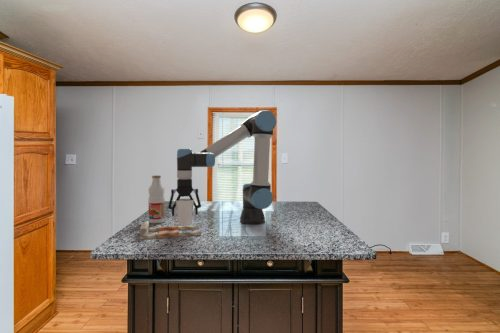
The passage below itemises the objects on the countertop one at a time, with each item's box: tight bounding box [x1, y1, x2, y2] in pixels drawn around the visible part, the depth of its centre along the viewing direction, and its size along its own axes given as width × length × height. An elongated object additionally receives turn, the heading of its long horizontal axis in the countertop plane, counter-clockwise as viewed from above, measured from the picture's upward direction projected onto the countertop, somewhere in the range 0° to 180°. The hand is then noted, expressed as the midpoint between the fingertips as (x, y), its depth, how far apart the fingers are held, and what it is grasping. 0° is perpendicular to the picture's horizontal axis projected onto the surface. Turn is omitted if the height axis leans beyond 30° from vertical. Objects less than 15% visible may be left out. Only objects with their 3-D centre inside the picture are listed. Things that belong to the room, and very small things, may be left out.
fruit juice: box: [148, 175, 166, 224], centre depth 178 cm, size 9×9×28 cm
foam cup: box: [175, 197, 195, 226], centre depth 154 cm, size 10×9×13 cm
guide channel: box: [139, 221, 202, 240], centre depth 152 cm, size 29×15×5 cm, turn 105°
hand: (184, 221), depth 154 cm, fingers closed on foam cup, 9 cm apart
